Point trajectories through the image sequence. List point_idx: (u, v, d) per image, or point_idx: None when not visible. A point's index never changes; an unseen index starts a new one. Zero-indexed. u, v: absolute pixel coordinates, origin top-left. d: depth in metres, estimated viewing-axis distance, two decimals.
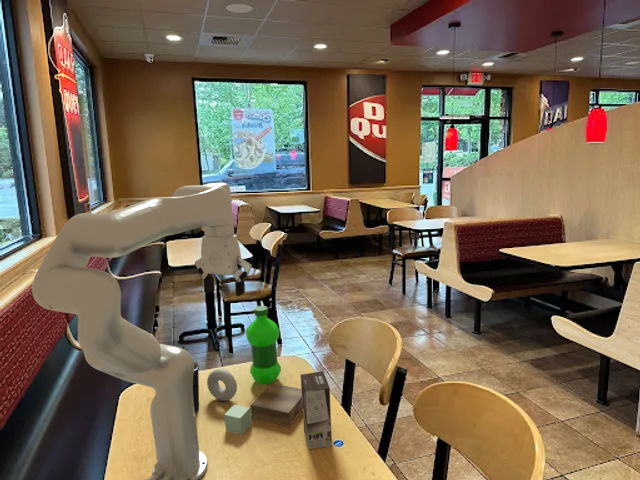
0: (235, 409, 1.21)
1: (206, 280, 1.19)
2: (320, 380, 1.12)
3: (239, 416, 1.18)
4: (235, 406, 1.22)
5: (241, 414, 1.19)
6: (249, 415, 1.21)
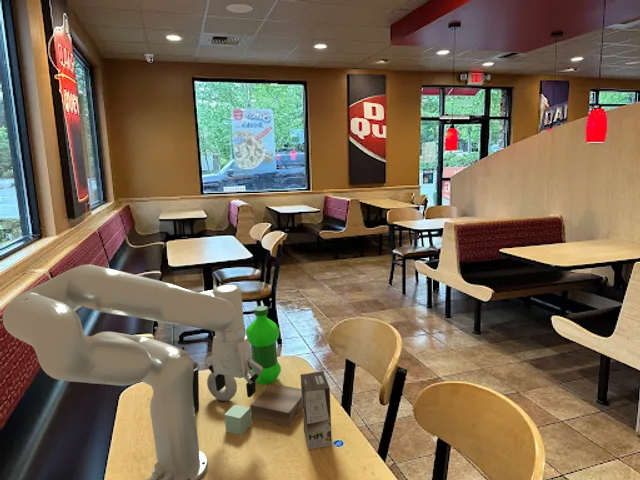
0: (235, 409, 1.21)
1: (217, 379, 1.19)
2: (320, 380, 1.12)
3: (239, 416, 1.18)
4: (235, 406, 1.22)
5: (241, 414, 1.19)
6: (249, 415, 1.21)
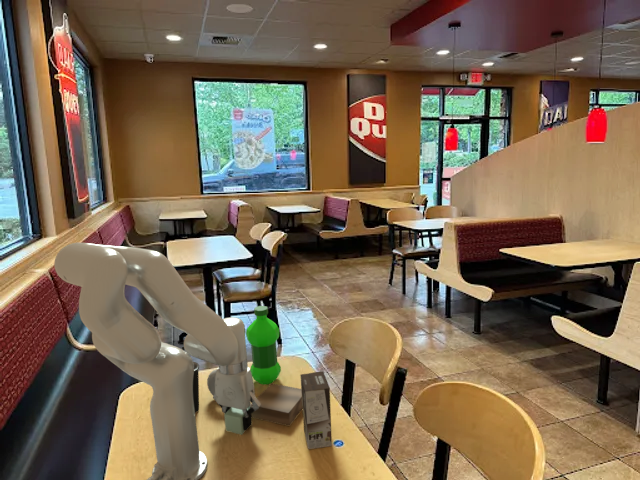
0: (235, 409, 1.21)
1: None
2: (320, 380, 1.12)
3: (239, 416, 1.18)
4: None
5: (241, 414, 1.19)
6: None
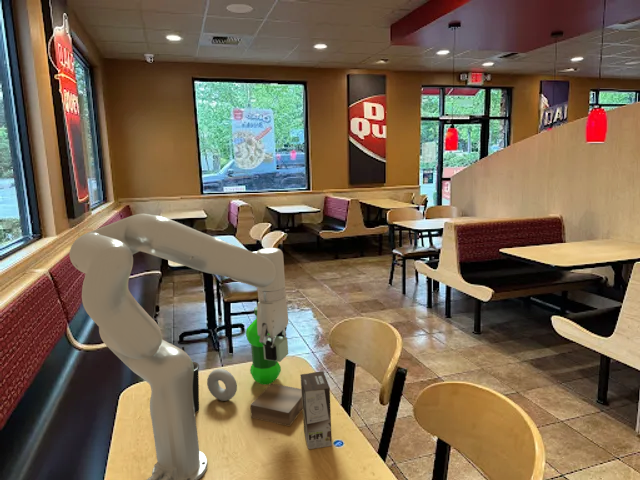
0: (277, 338, 1.24)
1: None
2: (320, 380, 1.12)
3: None
4: (283, 338, 1.25)
5: None
6: (277, 351, 1.21)
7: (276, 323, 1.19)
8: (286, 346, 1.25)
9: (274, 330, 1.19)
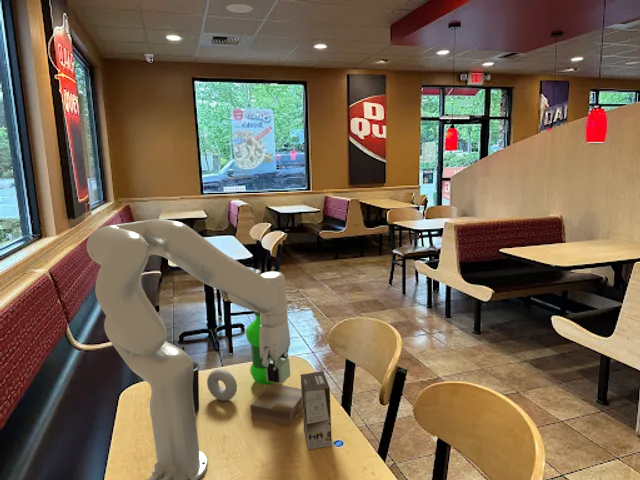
0: (280, 360, 1.26)
1: None
2: (320, 380, 1.12)
3: None
4: (285, 359, 1.26)
5: None
6: (280, 374, 1.23)
7: (279, 345, 1.21)
8: (288, 367, 1.26)
9: (276, 353, 1.20)
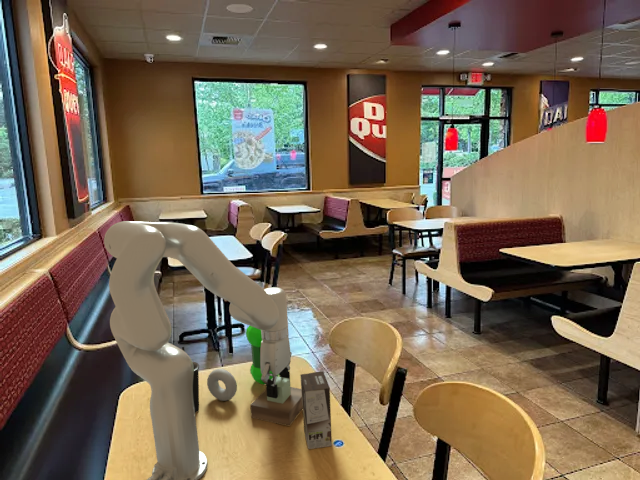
0: (280, 380, 1.27)
1: (279, 371, 1.30)
2: (320, 380, 1.12)
3: None
4: (286, 379, 1.27)
5: None
6: (280, 394, 1.24)
7: (279, 361, 1.22)
8: (289, 387, 1.27)
9: (277, 369, 1.21)
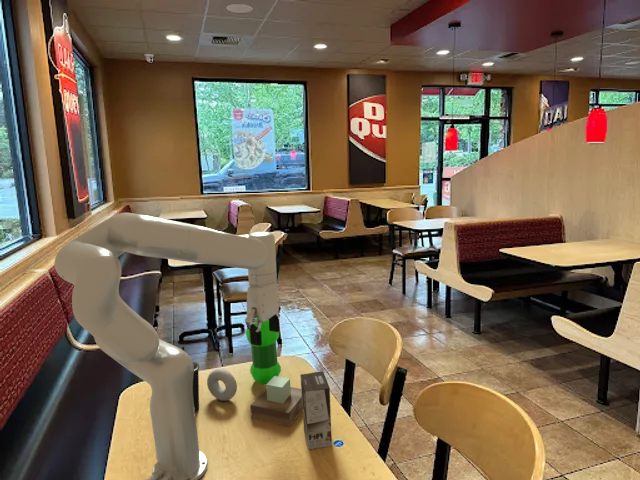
0: (280, 380, 1.27)
1: (269, 318, 1.27)
2: (320, 380, 1.12)
3: (269, 383, 1.25)
4: (286, 379, 1.27)
5: (272, 384, 1.25)
6: (280, 394, 1.24)
7: (266, 307, 1.18)
8: (289, 387, 1.27)
9: (264, 315, 1.17)
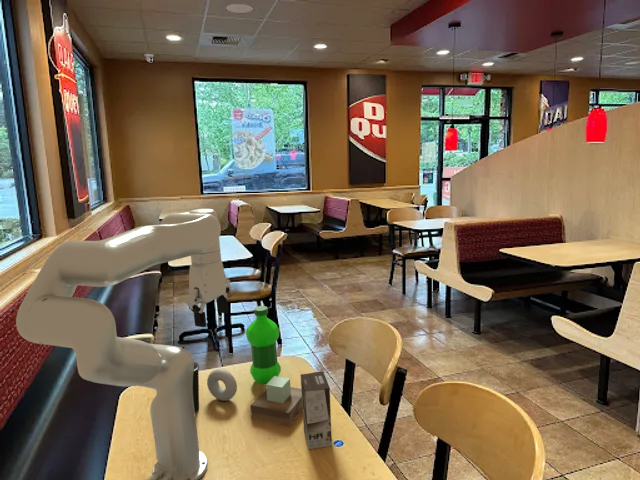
0: (280, 380, 1.27)
1: None
2: (320, 380, 1.12)
3: (269, 383, 1.25)
4: (286, 379, 1.27)
5: (272, 384, 1.25)
6: (280, 394, 1.24)
7: (210, 287, 1.13)
8: (289, 387, 1.27)
9: (207, 295, 1.12)
